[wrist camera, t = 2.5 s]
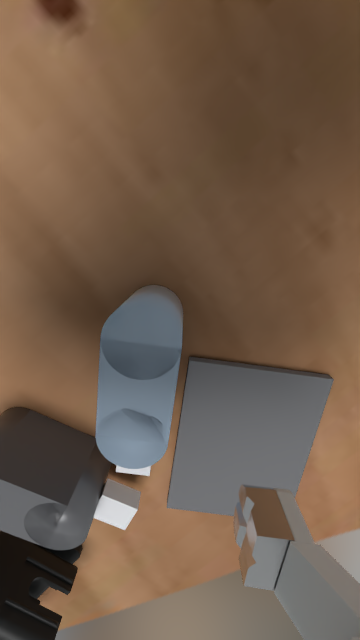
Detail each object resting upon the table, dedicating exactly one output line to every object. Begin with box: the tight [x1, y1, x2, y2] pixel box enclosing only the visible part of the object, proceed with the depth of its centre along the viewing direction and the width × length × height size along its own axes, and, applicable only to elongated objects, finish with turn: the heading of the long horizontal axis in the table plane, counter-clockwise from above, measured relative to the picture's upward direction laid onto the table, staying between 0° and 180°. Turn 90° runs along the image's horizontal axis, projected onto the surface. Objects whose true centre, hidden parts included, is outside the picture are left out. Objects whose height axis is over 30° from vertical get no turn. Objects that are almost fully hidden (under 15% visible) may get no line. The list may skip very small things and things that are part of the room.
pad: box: [167, 357, 334, 516], centre depth 18 cm, size 12×9×1 cm
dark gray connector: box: [0, 407, 141, 550], centre depth 17 cm, size 11×4×5 cm, turn 63°
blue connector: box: [96, 285, 183, 476], centre depth 15 cm, size 11×4×5 cm, turn 173°
